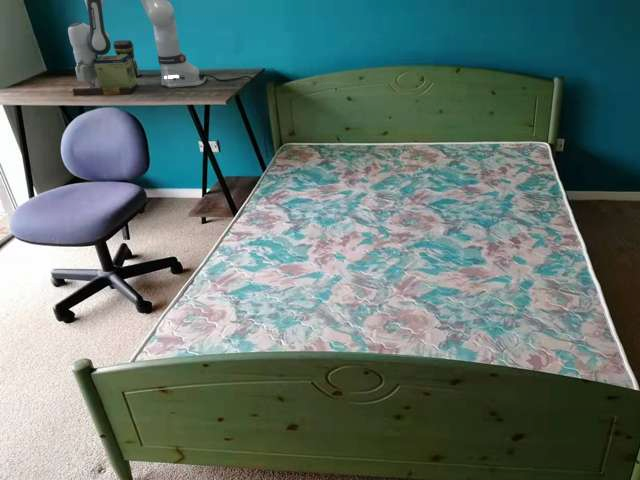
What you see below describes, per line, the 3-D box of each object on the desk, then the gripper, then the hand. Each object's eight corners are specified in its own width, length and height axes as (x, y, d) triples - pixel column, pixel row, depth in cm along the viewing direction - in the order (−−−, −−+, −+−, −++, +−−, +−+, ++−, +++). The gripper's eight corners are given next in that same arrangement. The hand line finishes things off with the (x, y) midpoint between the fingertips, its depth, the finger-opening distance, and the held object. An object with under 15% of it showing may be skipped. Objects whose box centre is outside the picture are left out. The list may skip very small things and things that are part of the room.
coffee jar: (119, 78, 320) (109, 42, 310) (124, 74, 327) (115, 39, 316) (137, 78, 320) (128, 41, 310) (141, 74, 327) (133, 38, 316)
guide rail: (131, 93, 296) (130, 86, 294) (130, 94, 294) (128, 88, 293) (75, 94, 297) (74, 88, 295) (74, 95, 295) (72, 89, 293)
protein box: (131, 91, 298) (123, 59, 290) (100, 92, 298) (92, 60, 290) (138, 85, 307) (131, 54, 299) (108, 86, 307) (100, 55, 299)
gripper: (82, 63, 284) (90, 92, 292) (99, 53, 301) (106, 81, 309) (69, 63, 285) (77, 92, 292) (87, 53, 302) (94, 81, 309)
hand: (92, 86), depth 301 cm, fingers closed
